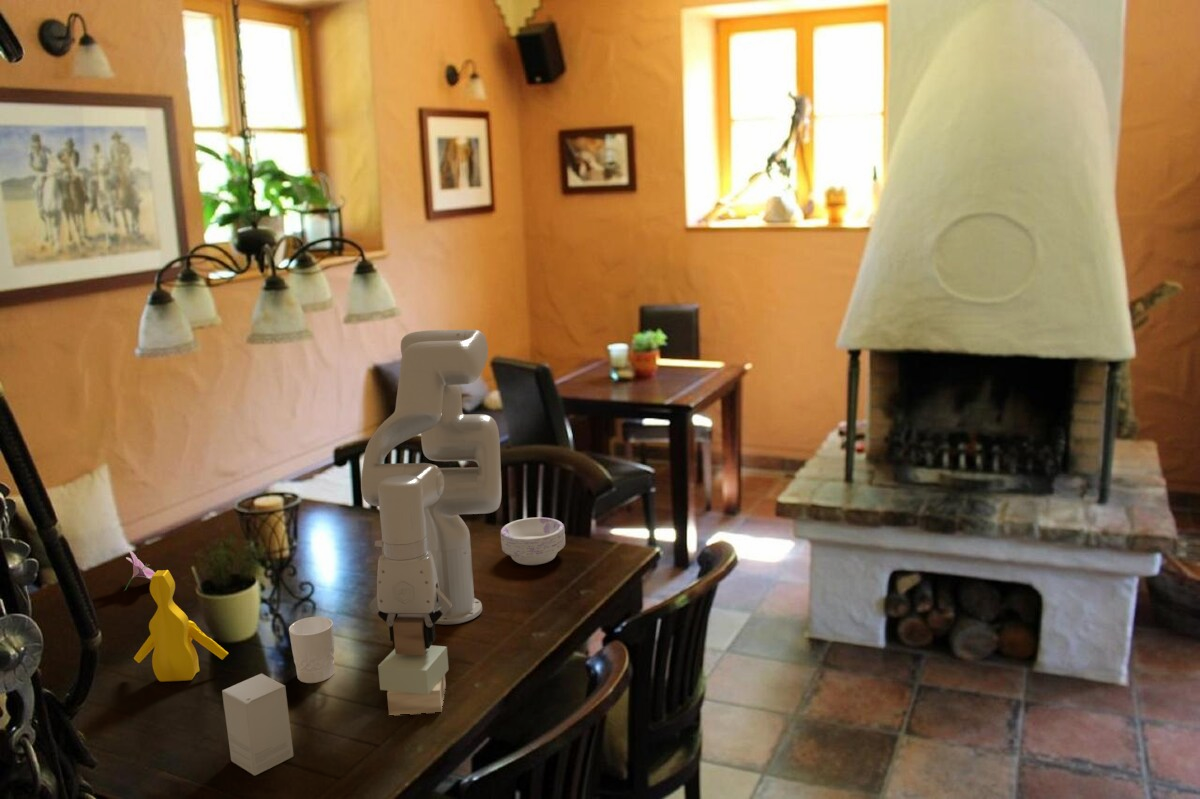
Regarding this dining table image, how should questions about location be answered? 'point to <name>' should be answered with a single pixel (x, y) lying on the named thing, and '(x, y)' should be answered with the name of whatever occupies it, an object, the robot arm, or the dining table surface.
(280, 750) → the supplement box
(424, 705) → the base block
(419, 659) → the top block
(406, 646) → the walnut block
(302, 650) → the white cup
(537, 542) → the paper bowls
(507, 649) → the dining table surface
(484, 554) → the dining table surface
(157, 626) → the figure statuette
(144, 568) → the lily
